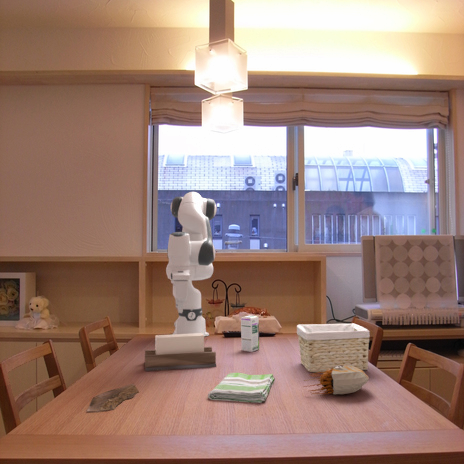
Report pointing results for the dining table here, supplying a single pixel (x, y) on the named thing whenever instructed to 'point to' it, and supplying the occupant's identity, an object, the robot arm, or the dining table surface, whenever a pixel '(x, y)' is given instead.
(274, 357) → the dining table surface
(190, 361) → the slot rack
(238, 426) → the dining table surface
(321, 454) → the dining table surface
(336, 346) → the storage basket
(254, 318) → the syrup box
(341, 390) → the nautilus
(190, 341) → the white rectangular block
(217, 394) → the dish towel
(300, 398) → the dining table surface
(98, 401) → the wooden fragment
